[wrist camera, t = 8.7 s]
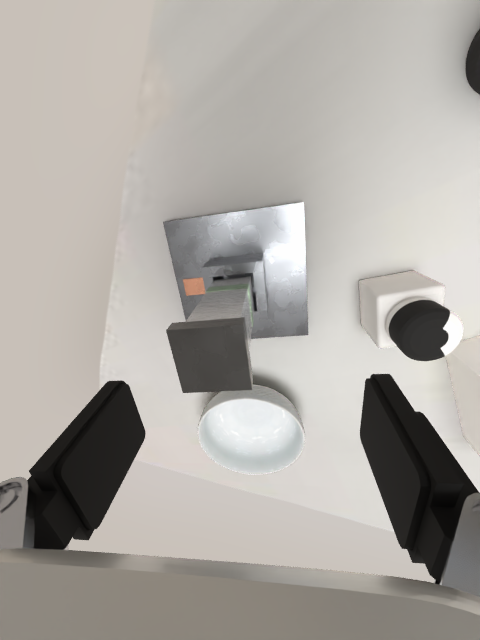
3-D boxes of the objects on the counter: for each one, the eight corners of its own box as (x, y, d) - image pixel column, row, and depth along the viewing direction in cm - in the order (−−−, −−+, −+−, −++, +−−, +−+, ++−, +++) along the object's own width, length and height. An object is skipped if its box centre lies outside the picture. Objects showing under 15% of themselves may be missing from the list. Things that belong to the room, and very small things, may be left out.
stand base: (167, 221, 36) (144, 225, 29) (302, 202, 33) (310, 202, 27) (193, 338, 43) (180, 362, 36) (306, 330, 40) (313, 354, 34)
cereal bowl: (203, 433, 51) (193, 466, 45) (210, 362, 44) (200, 389, 38) (289, 448, 51) (292, 484, 44) (310, 379, 44) (317, 409, 37)
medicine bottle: (360, 325, 39) (396, 373, 28) (357, 279, 36) (395, 312, 25) (412, 317, 38) (471, 364, 27) (414, 269, 35) (479, 299, 24)
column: (209, 276, 30) (166, 330, 18) (254, 271, 30) (243, 324, 17) (217, 317, 32) (182, 392, 20) (259, 314, 32) (252, 390, 19)
